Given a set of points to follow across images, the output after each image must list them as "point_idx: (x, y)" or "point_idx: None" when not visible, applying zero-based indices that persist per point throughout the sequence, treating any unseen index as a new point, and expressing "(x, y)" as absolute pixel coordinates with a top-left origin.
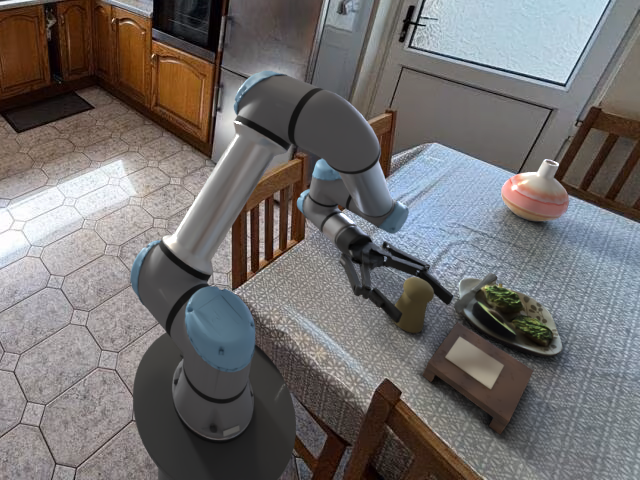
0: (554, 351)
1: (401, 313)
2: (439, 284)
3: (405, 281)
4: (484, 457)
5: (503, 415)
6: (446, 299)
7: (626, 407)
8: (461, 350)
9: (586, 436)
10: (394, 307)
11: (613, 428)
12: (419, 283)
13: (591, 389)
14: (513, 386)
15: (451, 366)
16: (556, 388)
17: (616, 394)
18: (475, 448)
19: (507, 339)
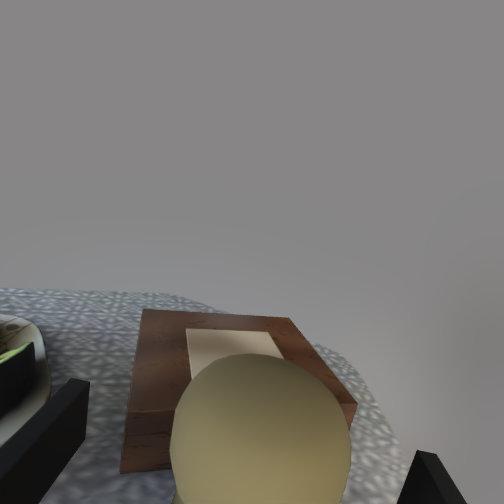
0: (8, 318)
1: (423, 452)
2: (16, 440)
3: (327, 485)
4: (332, 356)
5: (289, 321)
6: (79, 424)
7: (61, 291)
8: None
9: (166, 309)
10: (450, 489)
11: (120, 298)
12: (275, 388)
13: (57, 307)
14: (217, 320)
15: None
16: (102, 328)
17: (40, 295)
18: (336, 363)
19: (37, 366)
